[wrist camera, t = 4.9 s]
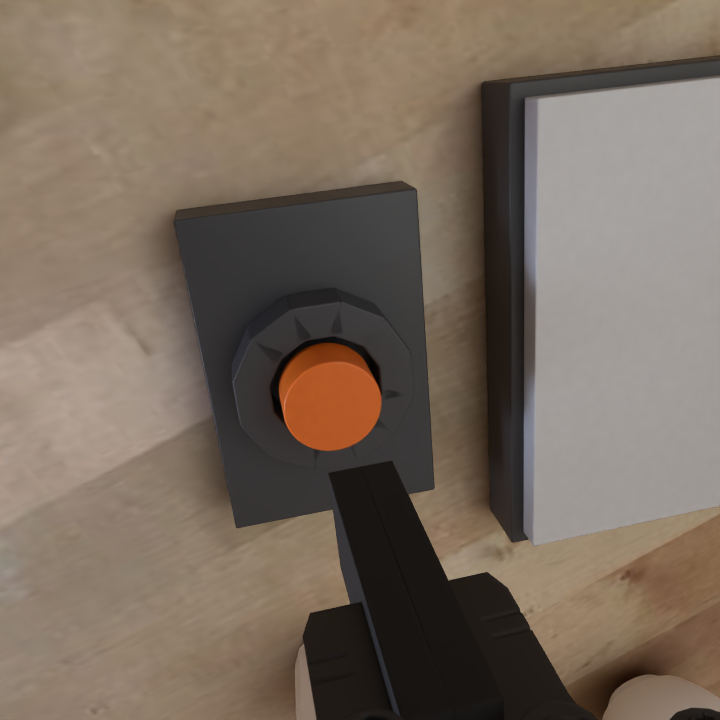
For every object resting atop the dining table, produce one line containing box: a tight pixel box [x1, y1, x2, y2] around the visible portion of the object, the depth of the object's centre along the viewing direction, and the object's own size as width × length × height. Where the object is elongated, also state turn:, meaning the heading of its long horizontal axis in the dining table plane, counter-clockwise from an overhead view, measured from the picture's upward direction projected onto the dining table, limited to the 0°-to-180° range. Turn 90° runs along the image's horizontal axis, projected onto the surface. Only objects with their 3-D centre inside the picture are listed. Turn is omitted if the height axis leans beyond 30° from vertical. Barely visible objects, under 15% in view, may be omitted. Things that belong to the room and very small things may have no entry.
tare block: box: [174, 181, 434, 528], centre depth 25 cm, size 12×8×4 cm, turn 5°
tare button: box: [279, 343, 382, 451], centre depth 23 cm, size 3×3×2 cm
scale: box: [482, 55, 720, 546], centre depth 27 cm, size 18×16×4 cm
